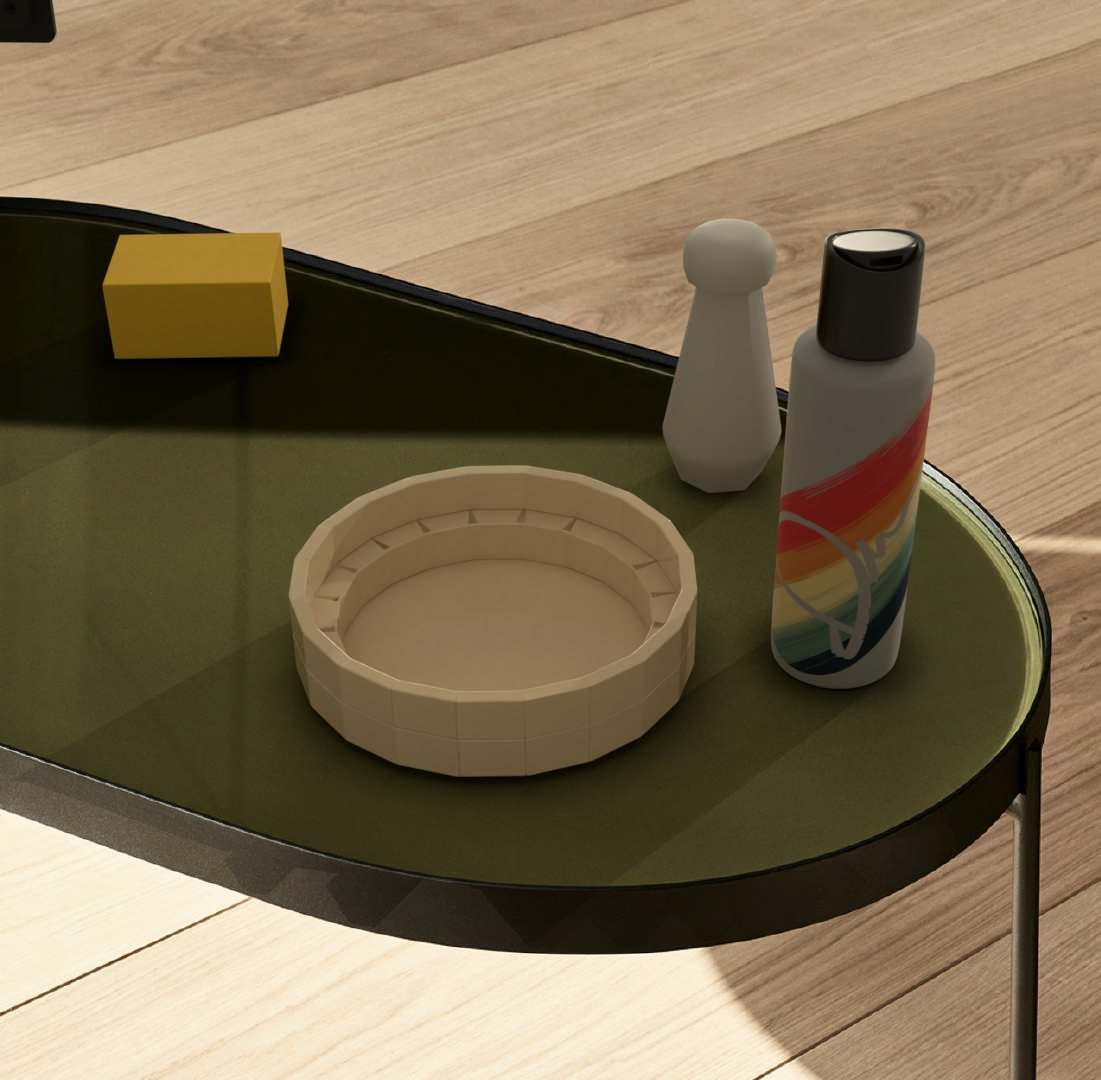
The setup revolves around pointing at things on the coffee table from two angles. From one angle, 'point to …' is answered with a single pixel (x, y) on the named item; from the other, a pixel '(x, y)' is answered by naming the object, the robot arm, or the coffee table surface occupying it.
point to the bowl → (494, 620)
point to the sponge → (196, 295)
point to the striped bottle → (853, 463)
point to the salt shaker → (725, 361)
